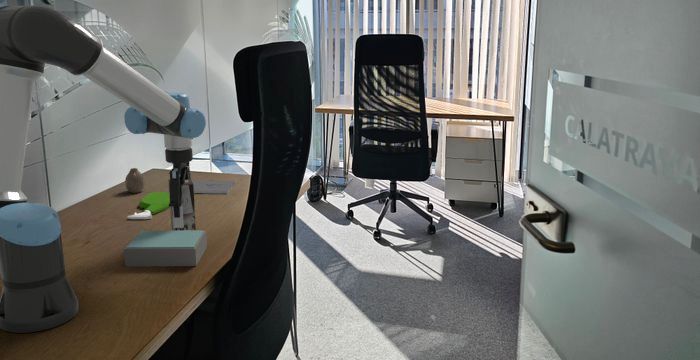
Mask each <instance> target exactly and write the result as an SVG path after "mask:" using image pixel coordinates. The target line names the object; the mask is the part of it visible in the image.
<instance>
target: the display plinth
mask: <svg viewBox="0 0 700 360" xmlns="http://www.w3.org/2000/svg"><path fill="white" fill-rule="evenodd" d="M207 248H208V237H207V230H201V229H199V230H198V229H196V230H173V231H172V230H140V231H139V232H138V233H137V235H135V237H133V239H132V240H131V241H130V242H129V243H128V244H126V246H125V247H124V248H123V254H124V265H125V266H124V267H197V265H198V264H199V262H200V261H201V259H202V257H203V255H204V253H205V251H206V249H207Z"/></svg>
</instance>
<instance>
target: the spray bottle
mask: <svg viewBox="0 0 700 360" xmlns="http://www.w3.org/2000/svg"><path fill="white" fill-rule="evenodd" d="M169 204H170V198H169V192H161V191H160V192H151V193H148V194H147V195H145V196H144V197H143V198H142V199H141V200H140V201H139V203H138V205H139V207H140V208H141V209H143V208H144V209H143V210H142V211H141V212H139V213H137V212H133V213H134V214H132V215H127V220H152V219H153V215H156V214H158V212H159V213H161V212H163V211H166V210H167V209H169V208H170V207H169ZM168 207H169V208H168ZM165 209H166V210H165Z"/></svg>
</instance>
